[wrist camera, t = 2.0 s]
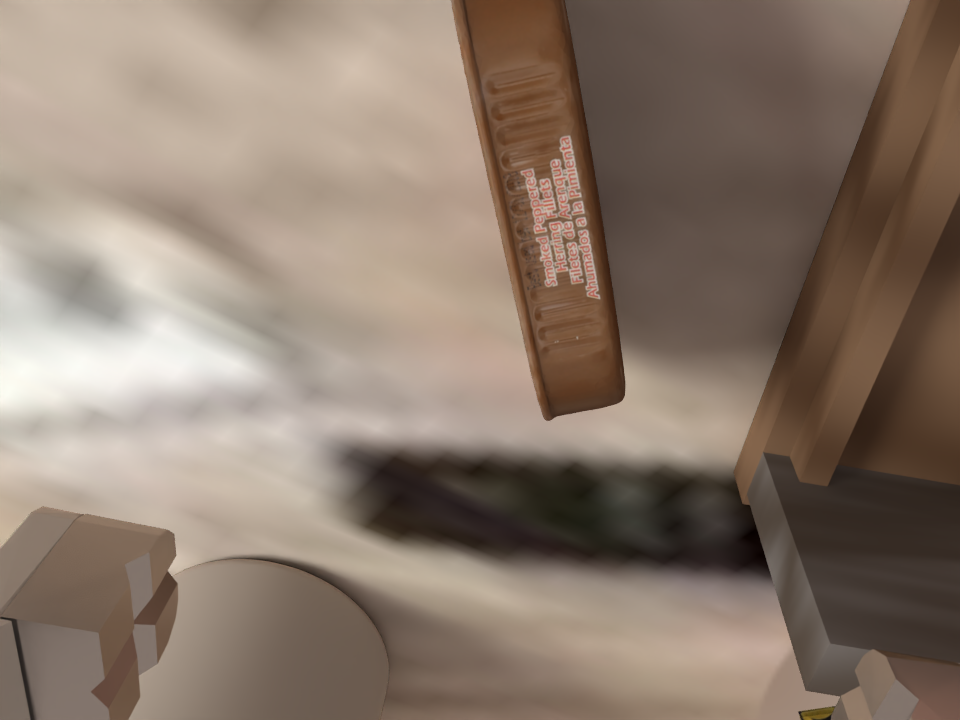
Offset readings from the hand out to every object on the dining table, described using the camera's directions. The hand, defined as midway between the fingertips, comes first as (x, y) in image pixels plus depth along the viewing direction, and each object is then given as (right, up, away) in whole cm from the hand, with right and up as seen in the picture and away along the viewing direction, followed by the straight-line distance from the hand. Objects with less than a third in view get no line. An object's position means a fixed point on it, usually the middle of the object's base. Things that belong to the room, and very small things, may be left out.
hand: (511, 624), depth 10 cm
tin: (+2, +11, +18) cm, 21 cm away
